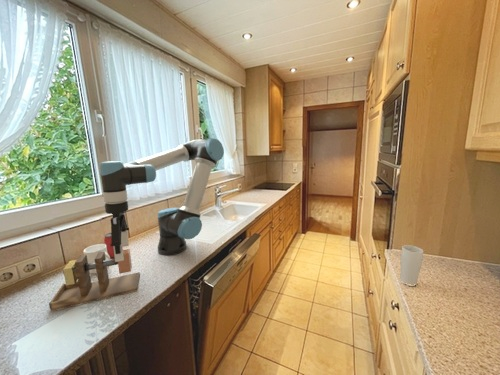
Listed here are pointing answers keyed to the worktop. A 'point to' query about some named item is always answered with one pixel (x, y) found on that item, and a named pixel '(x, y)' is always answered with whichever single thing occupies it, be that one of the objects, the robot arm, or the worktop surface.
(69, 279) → the spacer
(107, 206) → the robot arm
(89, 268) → the mallet
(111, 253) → the beer can
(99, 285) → the wooden stand
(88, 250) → the mug
